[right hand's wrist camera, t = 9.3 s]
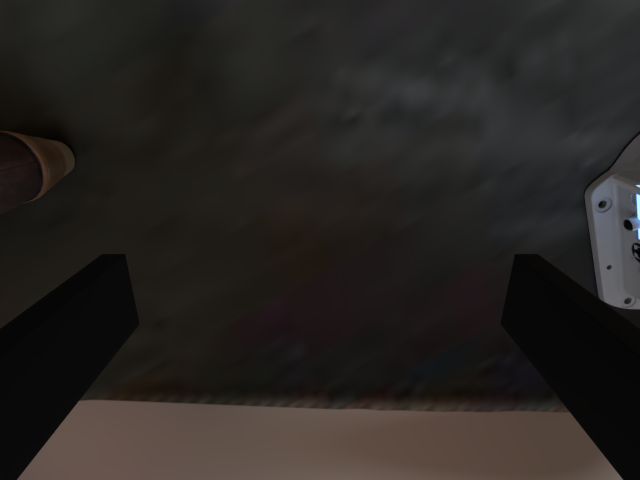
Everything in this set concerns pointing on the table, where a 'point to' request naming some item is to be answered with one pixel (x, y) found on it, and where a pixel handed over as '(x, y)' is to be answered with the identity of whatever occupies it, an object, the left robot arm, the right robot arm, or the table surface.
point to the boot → (30, 167)
